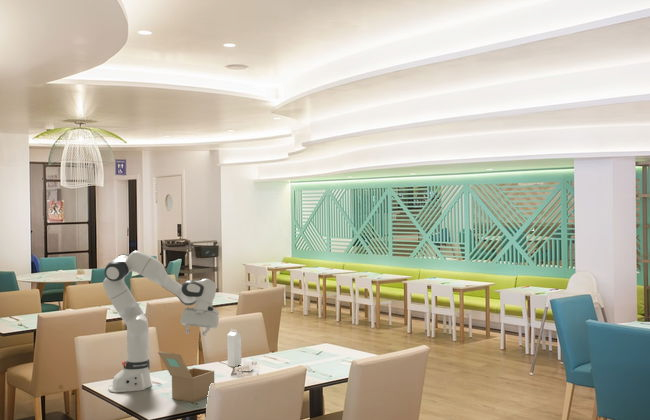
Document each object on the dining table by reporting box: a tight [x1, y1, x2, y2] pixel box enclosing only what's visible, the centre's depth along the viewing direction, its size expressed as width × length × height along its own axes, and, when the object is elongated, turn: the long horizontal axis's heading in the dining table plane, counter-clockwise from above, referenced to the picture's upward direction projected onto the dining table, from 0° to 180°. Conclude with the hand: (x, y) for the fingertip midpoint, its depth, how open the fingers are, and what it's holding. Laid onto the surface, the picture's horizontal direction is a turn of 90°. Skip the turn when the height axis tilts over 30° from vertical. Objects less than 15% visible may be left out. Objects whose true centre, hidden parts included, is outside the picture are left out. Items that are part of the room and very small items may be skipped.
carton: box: [171, 367, 215, 403], centre depth 330 cm, size 16×14×12 cm
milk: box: [226, 328, 242, 368], centre depth 394 cm, size 6×6×22 cm
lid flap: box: [157, 350, 193, 379], centre depth 319 cm, size 16×14×1 cm
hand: (195, 334), depth 335 cm, fingers open, 8 cm apart
